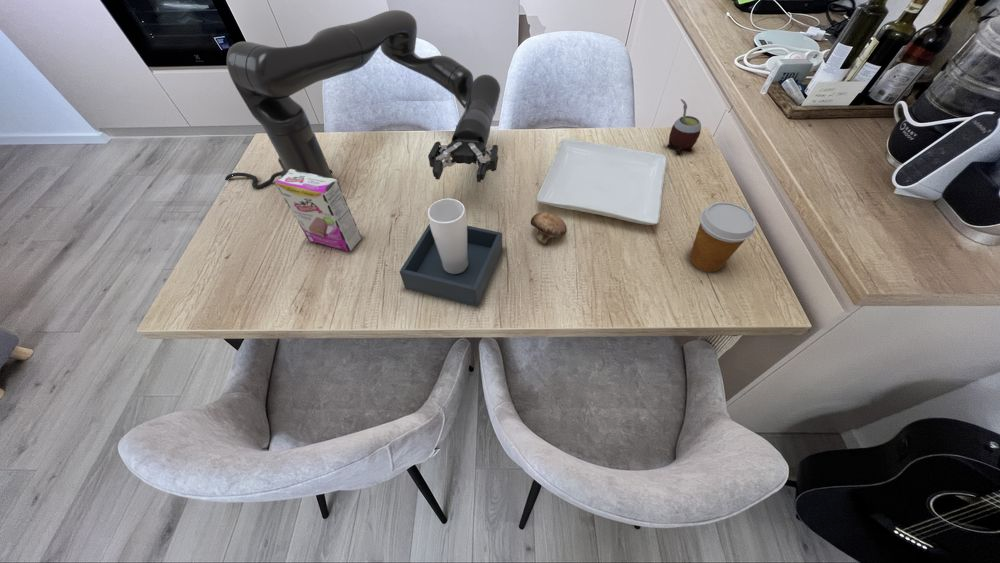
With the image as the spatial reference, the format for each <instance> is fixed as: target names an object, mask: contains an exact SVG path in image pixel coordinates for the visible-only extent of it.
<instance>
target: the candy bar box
mask: <svg viewBox="0 0 1000 563" xmlns="http://www.w3.org/2000/svg"><path fill="white" fill-rule="evenodd" d="M333 178H334V177H333ZM333 178H328V177H324V176H319V175H315V174H311V173H306V172H302V171H298V170H293V169H290V170H288V171H287V172H286V173H285V174H284V175H283V176H280V177H278V179H277V180H276V182H275V185H276V186H277V189H278V190H279V192H280V194H281V195H282V197H283V198H284V200H285V203H286V204H287V206H288V208H289V209H290V211H291V212H292V214H293V216H294V218H295V219H296V222H297V223H298V225H299V226H300V229H301V230H302V231H303V233H304V235H305V237H306V238H307V240H308V242H309V243H310V242H311V243H314V244H318V245H322V246H325V247H330V248H334V249H338V250H342V251H344V252H349V253H351V252H352V251H353V250H354V249H355V247H356V246H357V244H359V242H360V241H361V240H362V236H361V234H360V230H359V228H358V226H357V223H356V221H355V218H354V217H353V214H352V212H351V210H350V207H349V204H348V203H347V200H346V198H345V195H344V193H343V190H342V188H341V186H340V184H339V181H338V179H336V178H334V179H333Z"/></svg>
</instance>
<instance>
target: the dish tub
mask: <svg viewBox="0 0 1000 563" xmlns="http://www.w3.org/2000/svg"><path fill="white" fill-rule="evenodd" d="M467 247H468V267H467V269H466V270H465V271H464V272H462V273H459V274H450V273H448V272H446V271H445V270H444V268H443V266H442V261H441V258H440V255H439V252H438V249H437V247H436V244H435V241H434V238H433V235H432V232H431V228H430V224H429V223H428V225H427V227H426V228H425V230H424V231H423V233H422V234H421V236H420V237H419V240H417V243H416V244H415V246H414V247H413V249H412V250H411V251H410V254H409V255H408V258H407V259H406V260H405V261H404V264H403V265H402V267H401V268H400V270H399V275H400V278H401V280H402V283H403V286H404V289H405V290H410V291H413V292H417V293H420V294H421V293H422V294H425V295H429V296H434V297H436V298H441V299H445V300H448V301H454V302H456V303H461V304H464V305H469V306H473V307H476V308H479V306H480V304H481V301H482V299H483V296H484V294H485V292H486V290H487V287H488V285H489V283H490V281H491V278H492V276H493V274H494V271H495V269H496V267H497V264H498V262H499V259H500V258H501V255H502V253H503V251H504V248H503V233H502V232H501V231H495V230H491V229H485V228H481V227H477V226H471V225H467Z"/></svg>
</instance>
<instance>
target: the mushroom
mask: <svg viewBox="0 0 1000 563" xmlns="http://www.w3.org/2000/svg"><path fill="white" fill-rule="evenodd" d="M530 225H531V226H532V227H534V228H535V229H536V231H537V232H536V238H537V240H538V241H539V242H541V243H542V244H544V245H545V244H547V242H548V241H549V239H550V238H552V237H564V236H565V235H566V234H567V231H568V228H567V225H566V222H565V221H564V219H563V218H561V217H560V216H558V215H556V214H553V213H550V212H543V211H541V212H537V213H535V214H534V215H533V216H532V217H531V219H530Z"/></svg>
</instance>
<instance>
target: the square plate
mask: <svg viewBox="0 0 1000 563" xmlns="http://www.w3.org/2000/svg"><path fill="white" fill-rule="evenodd" d="M667 164H668V156H667V155H665V154H661V153H656V152H651V151H645V150H640V149H634V148H629V147H623V146H617V145H610V144H606V143H600V142H599V143H598V142H591V141H583V140H576V139H570V138H563V139H561V140H560V142H559V144H558V147H557V149H556V152H555V155H554V158H553V160H552V162H551V165H550V167H549V169H548V171H547V173H546V175H545V177H544V180H543V182H542V184H541V187H540V188H539V191H538V193H537V195H536V198H535V199H536V201H537V202H539V203H541V204H544V205H547V206H550V207H554V208H560V209H565V210H566V209H567V210H571V211H577V212H578V211H579V212H584V213H588V214H594V215H599V216H604V217H608V218H613V219H617V220H621V221H624V222H630V223H635V224H640V225H646V226H652V225H658V224H659V222H660V216H661V209H662V200H663V199H662V198H663V188H664V181H665V176H666V169H667Z"/></svg>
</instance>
